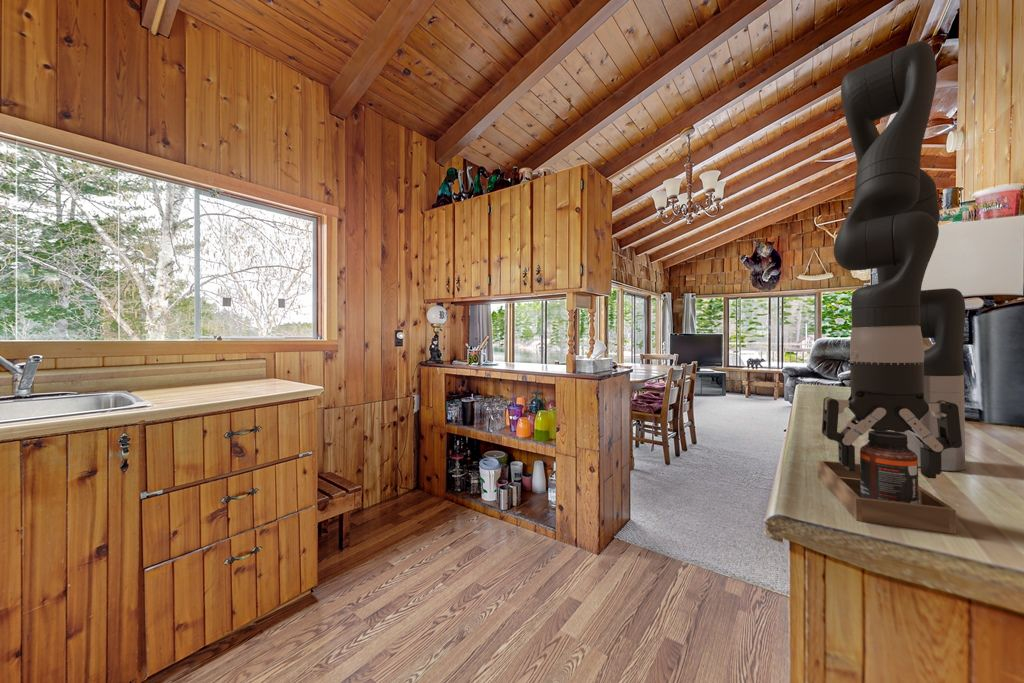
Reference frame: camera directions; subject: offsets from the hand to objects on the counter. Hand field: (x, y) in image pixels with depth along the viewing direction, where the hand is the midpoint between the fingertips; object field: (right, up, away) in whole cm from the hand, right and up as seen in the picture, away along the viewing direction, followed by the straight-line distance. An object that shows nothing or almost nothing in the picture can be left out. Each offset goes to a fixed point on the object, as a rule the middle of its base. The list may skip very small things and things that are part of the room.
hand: (887, 473), depth 55 cm
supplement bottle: (0, -6, 0) cm, 6 cm away
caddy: (+2, -6, +4) cm, 7 cm away
